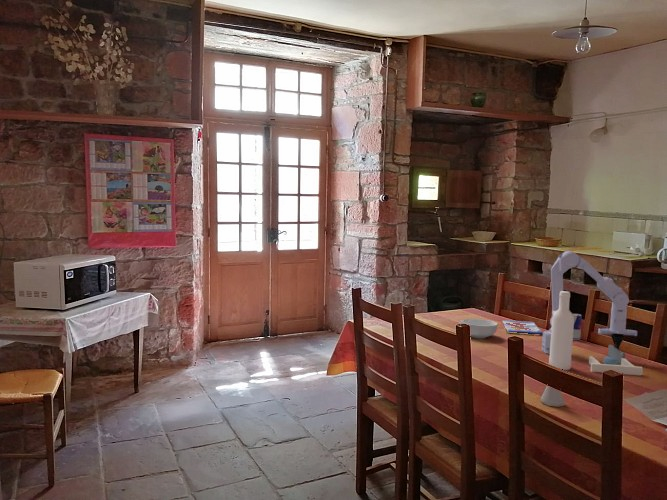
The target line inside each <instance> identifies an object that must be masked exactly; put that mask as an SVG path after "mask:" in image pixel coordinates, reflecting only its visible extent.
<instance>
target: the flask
mask: <svg viewBox="0 0 667 500" xmlns="http://www.w3.org/2000/svg"><path fill="white" fill-rule="evenodd" d="M545 387H546V388H545V389H544V391H543V392H542V395H541V397H540V402H541V403H542V404H544V405H545V406H549V407H555V408H557V407H558V408H559V407H564V406H566V404H565V401H564V398H563V395H562V392H561V391H562V390H561V391H558V390H556V389H554V388H551V387H549V386H547V385H546V386H545Z"/></svg>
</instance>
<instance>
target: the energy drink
mask: <svg viewBox="0 0 667 500" xmlns="http://www.w3.org/2000/svg"><path fill="white" fill-rule="evenodd" d="M572 314H573V317H574V328H573V340H579V341H580V340H581V337H582V336H581V333H582V321H583V320H582V319H583V316H582V314H579V313H572Z"/></svg>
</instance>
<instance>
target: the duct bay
mask: <svg viewBox="0 0 667 500" xmlns="http://www.w3.org/2000/svg"><path fill="white" fill-rule="evenodd" d="M588 364H589V365H590V372H593V373H594V372H595V373H603V371H606V370H614V371H617V372H620V373H623V374H622V375H630V376H641V375H642V376H643V370H644V369H643V367H642V366H638V365H637V366H635V365H634V364H633V363H632V362H630V361H628V359H626V357H625V358H621V364H618V365H610V364H604V363H600V361H599V360H597V359H596V358H595V357H594V356H593V355H589V356H588Z"/></svg>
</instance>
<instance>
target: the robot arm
mask: <svg viewBox="0 0 667 500" xmlns="http://www.w3.org/2000/svg"><path fill="white" fill-rule="evenodd" d="M572 268H576V269H580V270H583V271H584V272H585V273H586V274H587V275H588V276H590V277H591V278H592V279H593V280H594V281H595V282H596V286H597V287H596V288H598V289H599V290H600V291H601V292H602V293H603V294H604V295H605V296H606V297H608V298H609V299H610V301H611V309H610V321H609V322H610V323H609V324H610V325H609V328H598V331H597V334H598V335H610V337H611V339H612V342H613V346H614V347H615V348H617V349H619V350H620V346H621V344H622V342H623V341H624V340H625V337H626V336H634V337H637V336H638V330H633V329H626V328H627V327H626V326H627V313H628V309H627V308H628V304H630V303H629V302H630V299H629V295H628V294H626V293H625V292H624V290H623V288H622V287H619V286H618V284H616V283H615V282H614V279H613V278H609V276H608V277H607V276H602V274H600V272H598V270H596V268H594V267H593V266H592V265H591V264H590V263H589V262H588V261H587V260H585V259H584V258H583V257H582V256H579V255H578V254H577V253H576V252H574V251H573V250H565V251H563V252H562V253H561V254H559V255H558V257H557V259H556V260H555V262H554V263H553V265H552V267H551V268H550V278H551V279H550V280H551V284H550V285H551V306H552V307H551V317H550V319H549V324H550V326H551V327H550V328H549V329H548V330H547V331H545V330H543V331H542V333H543V334H542V338H541V339H542V340H541V341H542V342H541V350H542V351H543V353H545V354H547V355H550V344H551V330H552V317H553V314H554V312H555V311H557V310H558V309H559V299H560V296H559V294H560V292H561V291H564V276H563V275H564V273H566V272H567V271H568V270H569V269H572Z"/></svg>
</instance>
